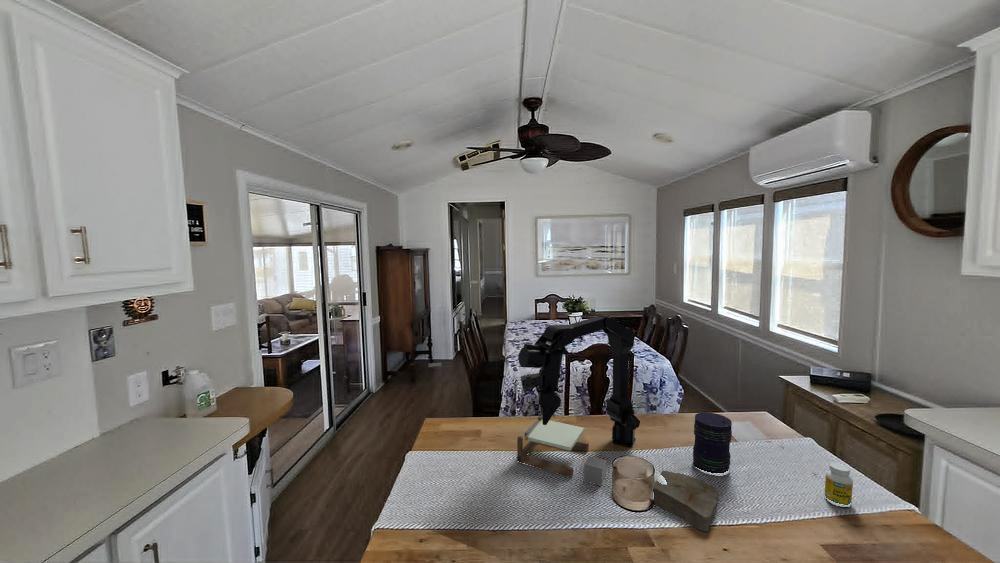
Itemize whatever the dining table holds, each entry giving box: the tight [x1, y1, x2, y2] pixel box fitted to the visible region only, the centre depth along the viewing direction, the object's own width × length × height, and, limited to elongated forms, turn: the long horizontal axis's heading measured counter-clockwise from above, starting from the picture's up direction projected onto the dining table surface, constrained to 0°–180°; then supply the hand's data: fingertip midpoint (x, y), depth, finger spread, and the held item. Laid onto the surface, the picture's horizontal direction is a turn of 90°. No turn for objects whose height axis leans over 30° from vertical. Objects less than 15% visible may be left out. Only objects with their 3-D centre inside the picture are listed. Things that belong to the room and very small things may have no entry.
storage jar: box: [692, 411, 733, 473], centre depth 119 cm, size 10×10×15 cm
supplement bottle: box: [824, 462, 854, 505], centre depth 103 cm, size 5×5×10 cm
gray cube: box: [583, 455, 607, 486], centre depth 114 cm, size 5×5×5 cm
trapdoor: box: [524, 419, 585, 451], centre depth 125 cm, size 16×14×1 cm
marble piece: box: [652, 470, 720, 533], centre depth 103 cm, size 17×15×4 cm
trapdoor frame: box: [516, 415, 590, 478], centre depth 126 cm, size 17×17×8 cm
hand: (543, 419), depth 121 cm, fingers open, 9 cm apart
